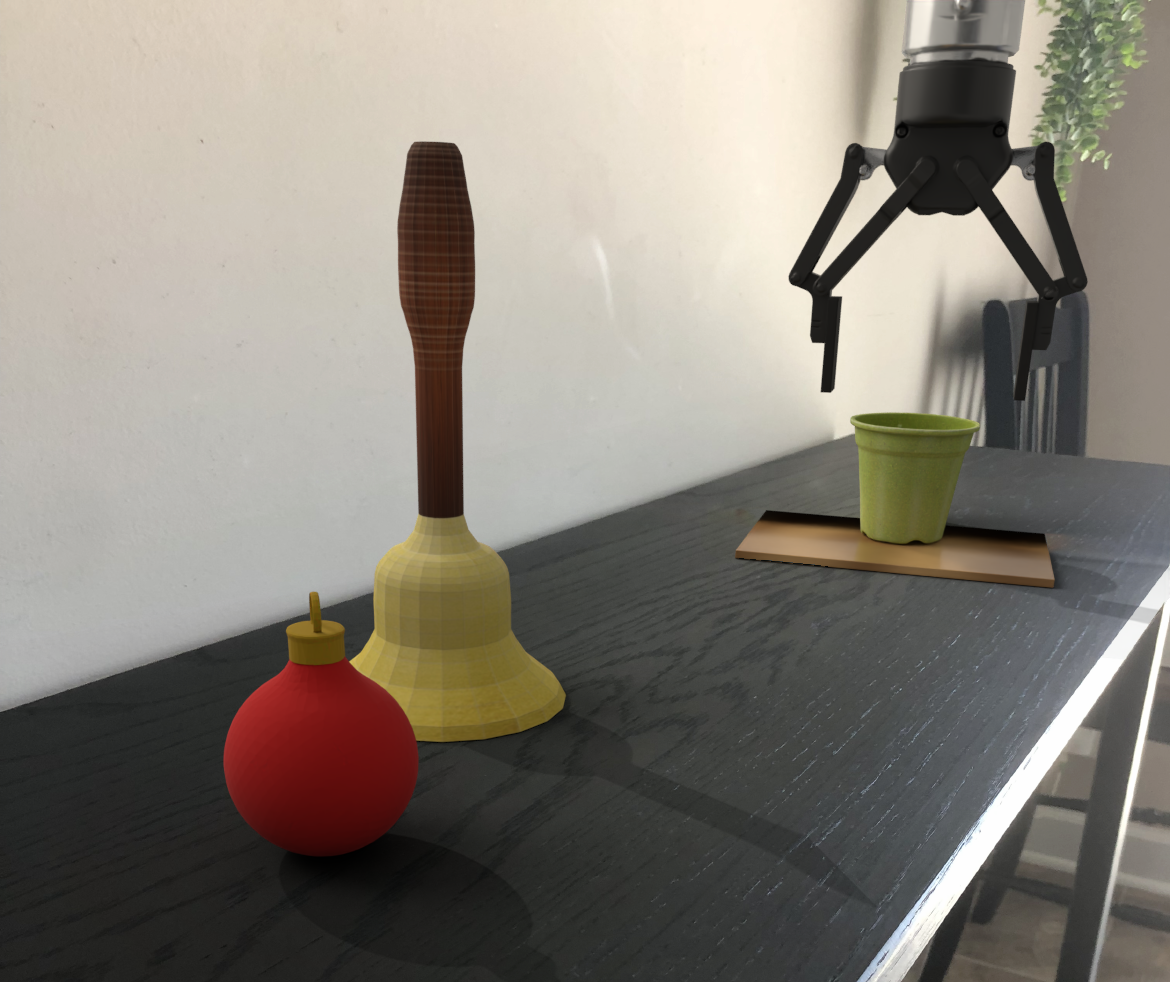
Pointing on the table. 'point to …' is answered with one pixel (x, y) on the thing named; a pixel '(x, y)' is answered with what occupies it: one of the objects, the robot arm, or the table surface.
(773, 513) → the wooden board
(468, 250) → the handbell
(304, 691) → the christmas ornament
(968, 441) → the plant pot
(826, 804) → the table surface
